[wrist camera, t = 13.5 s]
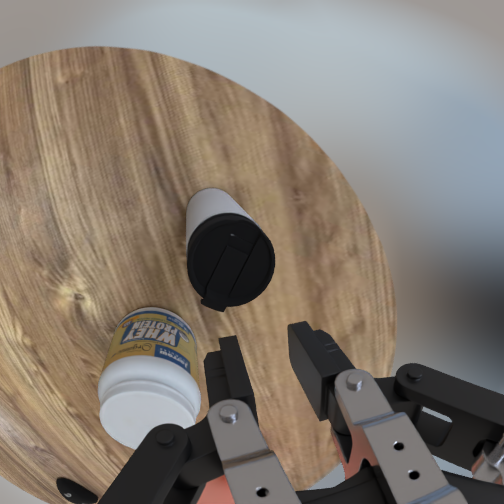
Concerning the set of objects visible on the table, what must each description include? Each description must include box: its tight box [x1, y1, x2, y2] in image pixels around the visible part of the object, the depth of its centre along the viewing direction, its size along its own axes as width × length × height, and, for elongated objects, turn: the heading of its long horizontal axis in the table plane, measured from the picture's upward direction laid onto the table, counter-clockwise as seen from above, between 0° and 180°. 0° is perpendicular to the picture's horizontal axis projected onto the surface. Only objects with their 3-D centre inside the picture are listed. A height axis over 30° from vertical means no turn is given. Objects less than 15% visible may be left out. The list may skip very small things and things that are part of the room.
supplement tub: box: [98, 307, 201, 449], centre depth 36 cm, size 12×12×17 cm
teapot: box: [197, 475, 235, 504], centre depth 47 cm, size 25×23×18 cm
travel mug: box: [186, 188, 275, 312], centre depth 30 cm, size 6×7×20 cm
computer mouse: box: [56, 478, 98, 504], centre depth 50 cm, size 8×12×4 cm, turn 27°
